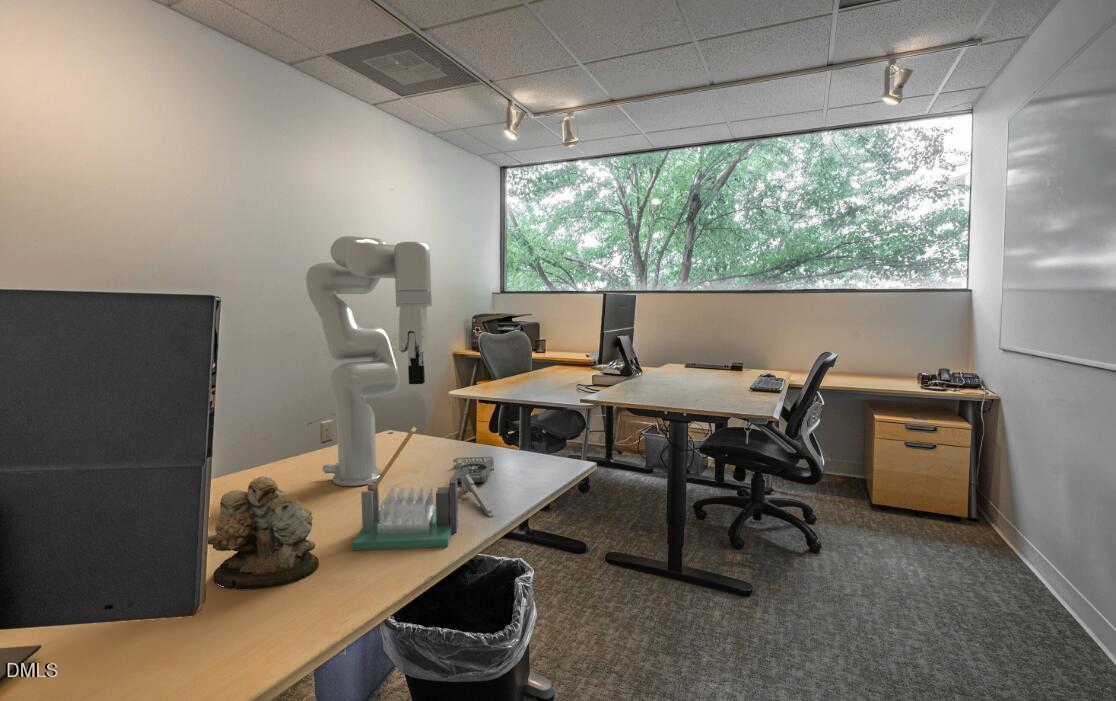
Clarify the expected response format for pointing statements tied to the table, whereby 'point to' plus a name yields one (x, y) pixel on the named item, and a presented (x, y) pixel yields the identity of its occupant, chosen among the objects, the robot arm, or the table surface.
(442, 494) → the lug
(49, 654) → the table surface
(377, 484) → the strap
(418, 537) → the motherboard
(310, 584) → the table surface
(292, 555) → the owl figurine
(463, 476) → the caliper
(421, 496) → the heat sink
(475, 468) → the graphics card
